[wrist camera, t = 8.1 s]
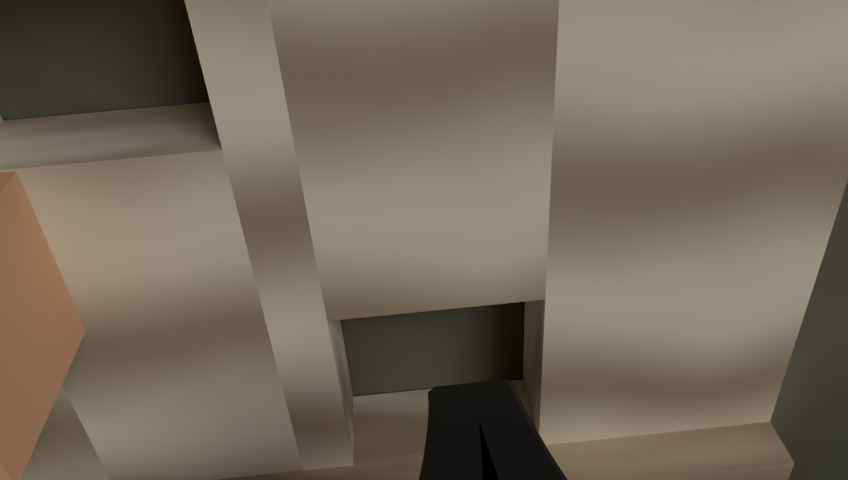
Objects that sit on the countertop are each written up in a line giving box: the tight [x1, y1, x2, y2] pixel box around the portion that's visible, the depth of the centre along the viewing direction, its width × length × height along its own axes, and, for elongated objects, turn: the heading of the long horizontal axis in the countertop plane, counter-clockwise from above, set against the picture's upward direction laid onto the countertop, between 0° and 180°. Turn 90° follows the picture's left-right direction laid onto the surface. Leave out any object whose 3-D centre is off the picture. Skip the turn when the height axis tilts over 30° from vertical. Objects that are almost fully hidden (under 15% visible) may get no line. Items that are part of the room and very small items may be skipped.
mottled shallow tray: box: [0, 0, 848, 480], centre depth 17 cm, size 18×24×4 cm
